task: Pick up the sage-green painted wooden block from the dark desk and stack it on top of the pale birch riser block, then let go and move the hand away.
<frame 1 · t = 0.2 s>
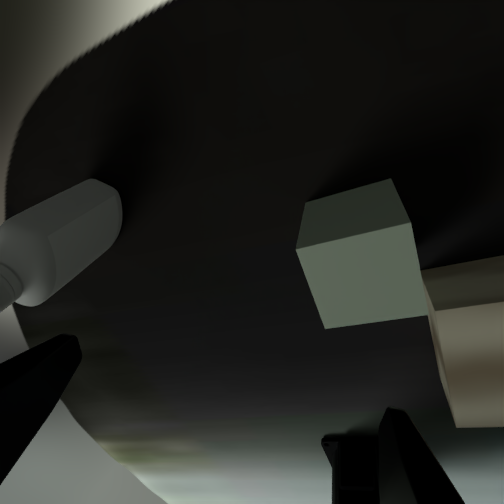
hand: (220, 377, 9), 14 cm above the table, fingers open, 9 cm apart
eye dropper bottle: (103, 212, 24), on the table
sage block: (356, 227, 21), on the table
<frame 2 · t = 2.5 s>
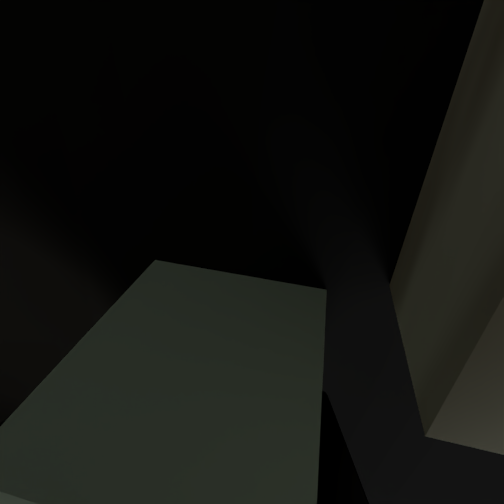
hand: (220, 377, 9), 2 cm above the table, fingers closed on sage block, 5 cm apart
sage block: (234, 338, 11), on the table, touching gripper
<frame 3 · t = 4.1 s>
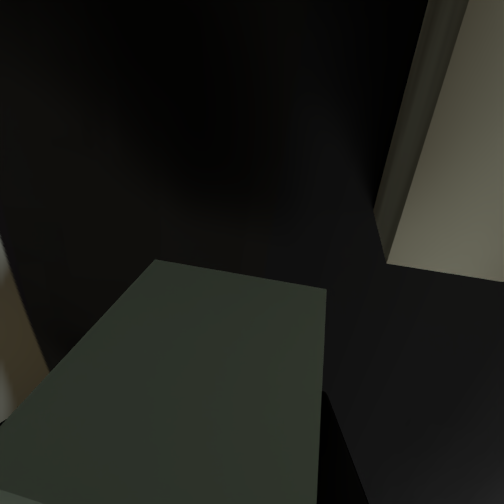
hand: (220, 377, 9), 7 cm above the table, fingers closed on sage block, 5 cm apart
sage block: (234, 338, 11), point 5 cm above the table, touching gripper
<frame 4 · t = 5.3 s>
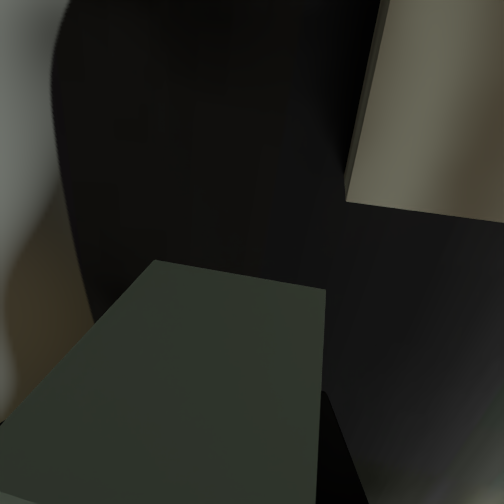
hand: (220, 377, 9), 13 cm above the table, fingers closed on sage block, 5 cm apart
birch block: (477, 83, 15), on the table
sage block: (234, 338, 11), point 11 cm above the table, touching gripper
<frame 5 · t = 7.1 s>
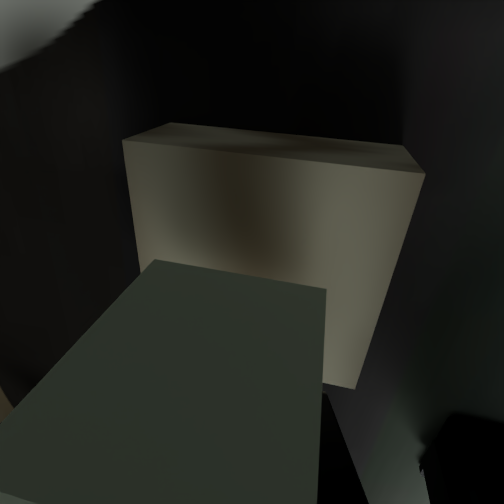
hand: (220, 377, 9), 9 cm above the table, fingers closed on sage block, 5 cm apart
birch block: (270, 236, 17), on the table
sage block: (234, 337, 11), point 7 cm above the table, touching gripper
when the fingers open (6 cm above the table, at t = 8.4 s): sage block stays where it is, resting on birch block.
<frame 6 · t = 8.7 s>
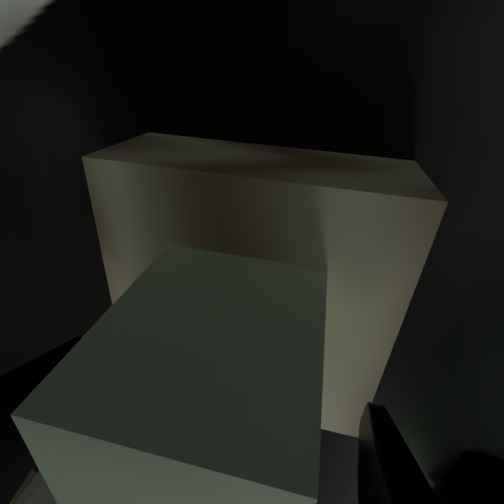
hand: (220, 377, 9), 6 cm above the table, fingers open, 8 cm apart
birch block: (263, 259, 15), on the table
eye dropper bottle: (83, 464, 30), on the table
sage block: (242, 318, 11), point 4 cm above the table, touching birch block
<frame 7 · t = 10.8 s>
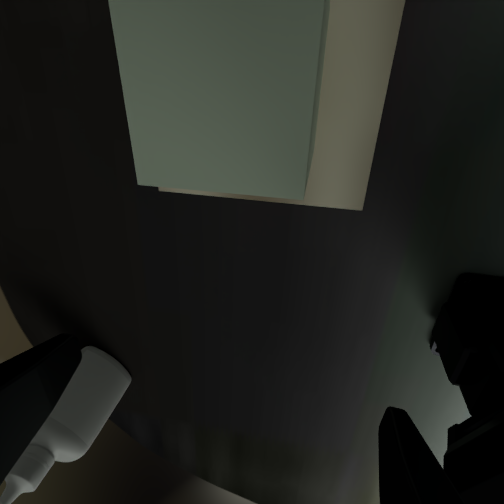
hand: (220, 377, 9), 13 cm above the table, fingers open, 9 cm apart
birch block: (273, 79, 17), on the table
eye dropper bottle: (108, 362, 32), on the table
sage block: (259, 83, 13), point 4 cm above the table, touching birch block
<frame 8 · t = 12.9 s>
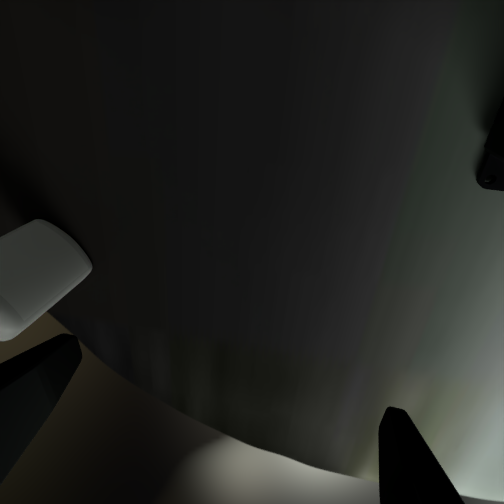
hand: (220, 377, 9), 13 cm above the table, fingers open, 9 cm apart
eye dropper bottle: (64, 247, 26), on the table
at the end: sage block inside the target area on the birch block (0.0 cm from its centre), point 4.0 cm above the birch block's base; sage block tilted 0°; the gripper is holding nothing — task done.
